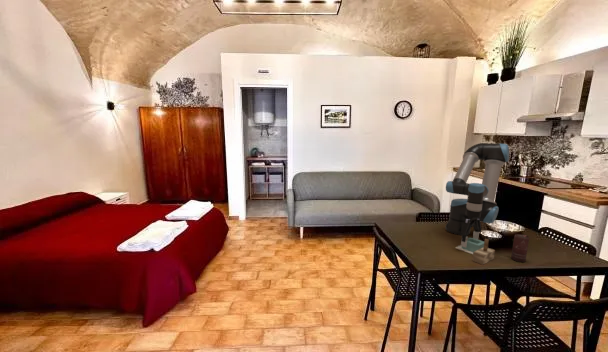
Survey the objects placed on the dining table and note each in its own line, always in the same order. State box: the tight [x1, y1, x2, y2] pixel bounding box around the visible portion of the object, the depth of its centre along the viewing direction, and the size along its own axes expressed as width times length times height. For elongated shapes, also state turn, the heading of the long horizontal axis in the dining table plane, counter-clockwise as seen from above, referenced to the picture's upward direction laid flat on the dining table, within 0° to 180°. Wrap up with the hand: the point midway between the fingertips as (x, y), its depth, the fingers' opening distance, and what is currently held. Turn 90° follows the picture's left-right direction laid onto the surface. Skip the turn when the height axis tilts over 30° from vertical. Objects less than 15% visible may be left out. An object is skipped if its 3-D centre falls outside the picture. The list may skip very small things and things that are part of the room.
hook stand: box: [471, 238, 496, 266], centre depth 140 cm, size 13×5×12 cm, turn 123°
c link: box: [462, 236, 485, 252], centre depth 153 cm, size 9×9×5 cm
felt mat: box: [454, 244, 473, 255], centre depth 153 cm, size 14×14×1 cm
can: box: [511, 233, 530, 263], centre depth 140 cm, size 6×6×14 cm
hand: (469, 244), depth 155 cm, fingers open, 13 cm apart
